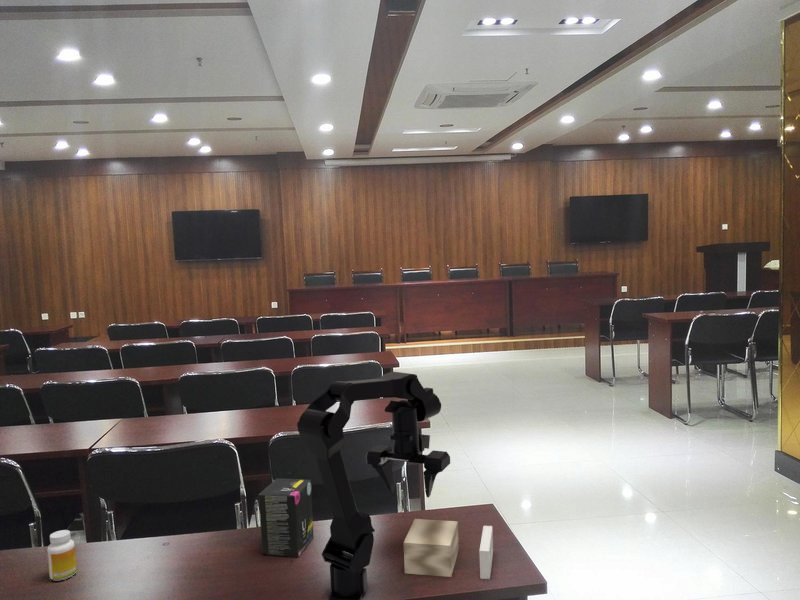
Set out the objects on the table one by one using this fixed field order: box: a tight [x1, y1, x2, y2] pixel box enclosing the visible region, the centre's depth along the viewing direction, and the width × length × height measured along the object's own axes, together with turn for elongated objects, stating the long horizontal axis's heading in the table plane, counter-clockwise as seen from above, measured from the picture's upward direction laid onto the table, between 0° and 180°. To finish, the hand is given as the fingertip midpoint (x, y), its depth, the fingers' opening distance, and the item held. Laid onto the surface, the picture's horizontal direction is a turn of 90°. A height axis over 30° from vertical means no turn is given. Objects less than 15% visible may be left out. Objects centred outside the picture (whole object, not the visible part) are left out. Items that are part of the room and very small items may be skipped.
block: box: [403, 518, 460, 578], centre depth 137 cm, size 10×12×7 cm
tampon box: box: [258, 478, 315, 558], centre depth 147 cm, size 11×9×15 cm
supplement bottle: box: [46, 529, 78, 579], centre depth 137 cm, size 5×5×10 cm
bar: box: [478, 525, 494, 580], centre depth 135 cm, size 2×12×6 cm, turn 168°
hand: (410, 494), depth 141 cm, fingers open, 9 cm apart
